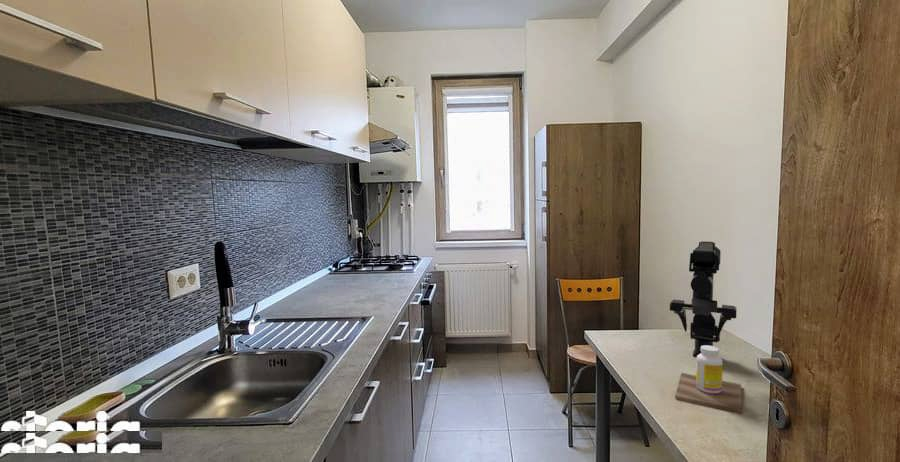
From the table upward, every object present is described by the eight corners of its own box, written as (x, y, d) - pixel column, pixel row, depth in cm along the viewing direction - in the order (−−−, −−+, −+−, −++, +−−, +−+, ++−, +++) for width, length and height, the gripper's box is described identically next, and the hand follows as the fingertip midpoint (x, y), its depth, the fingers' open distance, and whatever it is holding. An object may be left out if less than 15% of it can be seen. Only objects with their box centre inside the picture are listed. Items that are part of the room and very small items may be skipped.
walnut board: (681, 375, 137) (681, 372, 137) (740, 387, 128) (740, 384, 128) (675, 398, 122) (675, 395, 122) (741, 413, 113) (741, 410, 113)
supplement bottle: (727, 392, 123) (728, 350, 121) (709, 396, 121) (711, 353, 119) (707, 382, 129) (708, 342, 128) (690, 386, 127) (691, 345, 126)
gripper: (668, 289, 136) (667, 336, 137) (737, 296, 125) (735, 346, 127) (672, 283, 145) (671, 326, 146) (737, 288, 134) (735, 335, 136)
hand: (701, 333), depth 138 cm, fingers open, 9 cm apart
